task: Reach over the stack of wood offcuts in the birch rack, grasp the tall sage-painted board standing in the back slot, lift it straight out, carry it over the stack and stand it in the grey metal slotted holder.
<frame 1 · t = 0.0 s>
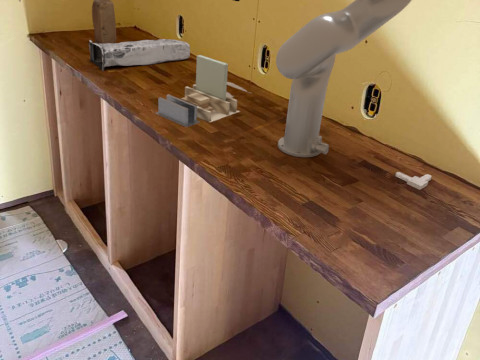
grey-green panel: (210, 105, 157), point 1 cm above the counter, touching rack
concrete block: (140, 62, 200), on the counter
stand: (177, 121, 147), on the counter
block: (105, 46, 215), on the counter
rack: (202, 111, 155), on the counter
stone tablet: (225, 95, 173), on the counter
offcut stack: (195, 109, 153), point 1 cm above the counter, touching rack
corner connector: (413, 181, 126), on the counter
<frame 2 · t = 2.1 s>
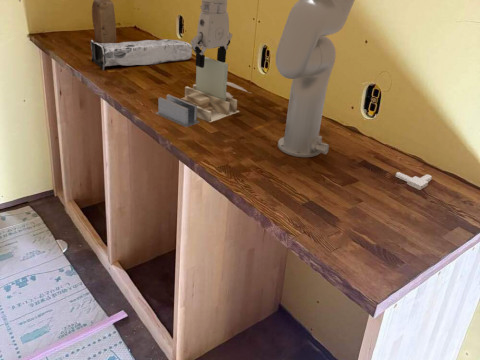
hand: (210, 63, 151), 15 cm above the counter, tool pointing down, fingers open, 9 cm apart
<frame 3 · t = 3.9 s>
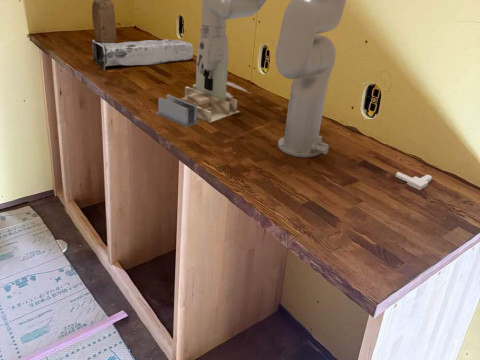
hand: (210, 88, 154), 7 cm above the counter, tool pointing down, fingers closed on grey-green panel, 1 cm apart
grey-green panel: (209, 105, 157), point 2 cm above the counter, touching gripper, rack
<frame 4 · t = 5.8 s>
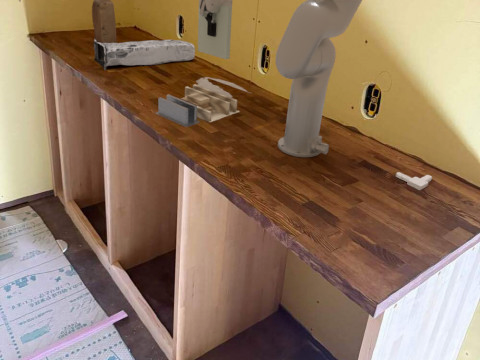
hand: (214, 34, 146), 24 cm above the counter, tool pointing down, fingers closed on grey-green panel, 1 cm apart
grey-green panel: (213, 54, 149), point 18 cm above the counter, touching gripper
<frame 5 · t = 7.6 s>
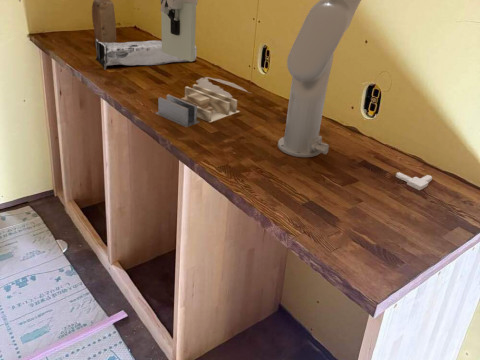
hand: (178, 33, 134), 27 cm above the counter, tool pointing down, fingers closed on grey-green panel, 1 cm apart
grey-green panel: (177, 56, 137), point 20 cm above the counter, touching gripper
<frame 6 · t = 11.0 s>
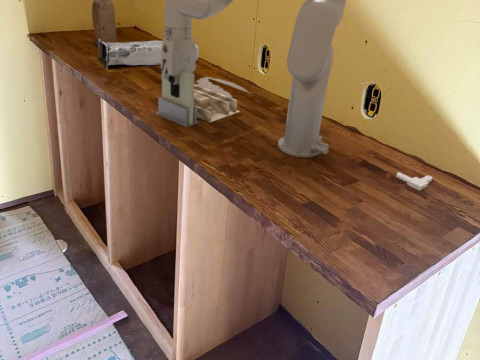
hand: (177, 95, 142), 9 cm above the counter, tool pointing down, fingers closed on grey-green panel, 1 cm apart
grey-green panel: (177, 117, 146), point 2 cm above the counter, touching gripper
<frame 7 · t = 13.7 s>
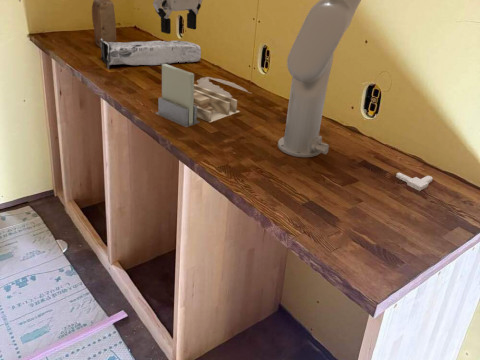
hand: (178, 30, 133), 27 cm above the counter, tool pointing down, fingers open, 9 cm apart
grey-green panel: (177, 117, 146), point 1 cm above the counter, touching stand
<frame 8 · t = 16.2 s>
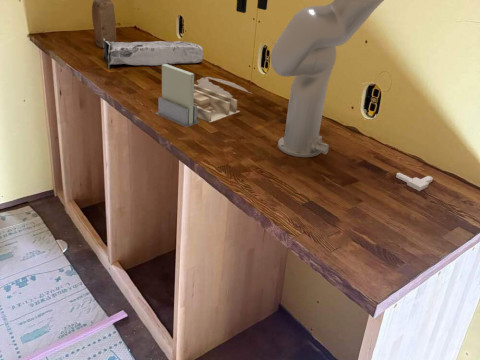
hand: (251, 10, 142), 32 cm above the counter, tool pointing down, fingers open, 9 cm apart
at the end: grey-green panel 0.0 cm off-centre on the stand, point 1.5 cm above the stand's base; grey-green panel tilted 0°; the gripper is holding nothing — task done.
